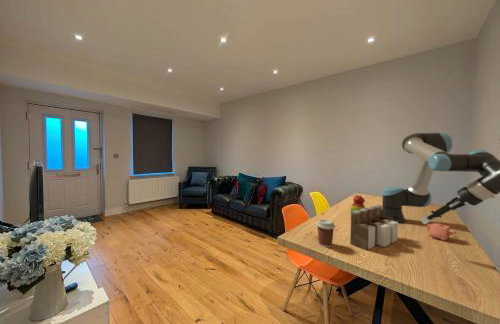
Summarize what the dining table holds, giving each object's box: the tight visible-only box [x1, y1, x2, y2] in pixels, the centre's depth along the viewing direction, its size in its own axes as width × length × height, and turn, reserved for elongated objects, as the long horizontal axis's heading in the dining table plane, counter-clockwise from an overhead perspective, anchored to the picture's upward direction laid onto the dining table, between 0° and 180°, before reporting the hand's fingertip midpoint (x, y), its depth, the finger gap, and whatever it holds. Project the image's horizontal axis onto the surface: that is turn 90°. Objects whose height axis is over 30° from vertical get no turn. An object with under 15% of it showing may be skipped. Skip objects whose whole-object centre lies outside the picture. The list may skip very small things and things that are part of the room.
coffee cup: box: [315, 219, 336, 248], centre depth 105 cm, size 9×9×12 cm
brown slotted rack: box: [349, 204, 393, 251], centre depth 109 cm, size 28×8×17 cm, turn 123°
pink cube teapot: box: [426, 222, 457, 242], centre depth 113 cm, size 8×12×8 cm, turn 36°
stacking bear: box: [350, 194, 366, 213], centre depth 143 cm, size 11×10×18 cm
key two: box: [374, 222, 391, 248], centre depth 106 cm, size 6×6×10 cm
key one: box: [382, 219, 399, 244], centre depth 110 cm, size 6×6×10 cm
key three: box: [360, 223, 376, 250], centre depth 103 cm, size 6×6×10 cm
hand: (422, 221), depth 98 cm, fingers closed
